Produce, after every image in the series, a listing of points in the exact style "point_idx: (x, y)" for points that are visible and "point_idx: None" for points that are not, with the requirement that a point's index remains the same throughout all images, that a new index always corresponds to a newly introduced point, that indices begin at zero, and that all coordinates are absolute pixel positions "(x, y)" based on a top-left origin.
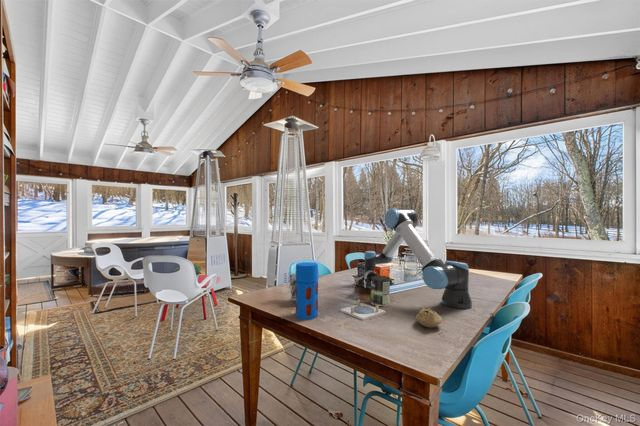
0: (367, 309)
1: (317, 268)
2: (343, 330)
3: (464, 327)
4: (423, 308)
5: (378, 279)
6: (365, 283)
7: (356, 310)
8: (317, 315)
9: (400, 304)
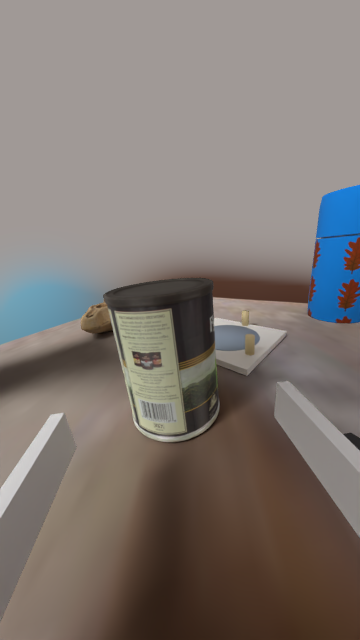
0: (215, 338)
1: (323, 205)
2: (236, 305)
3: (52, 332)
4: (101, 308)
5: (174, 281)
6: (282, 385)
7: (241, 331)
8: (311, 314)
9: (89, 406)
